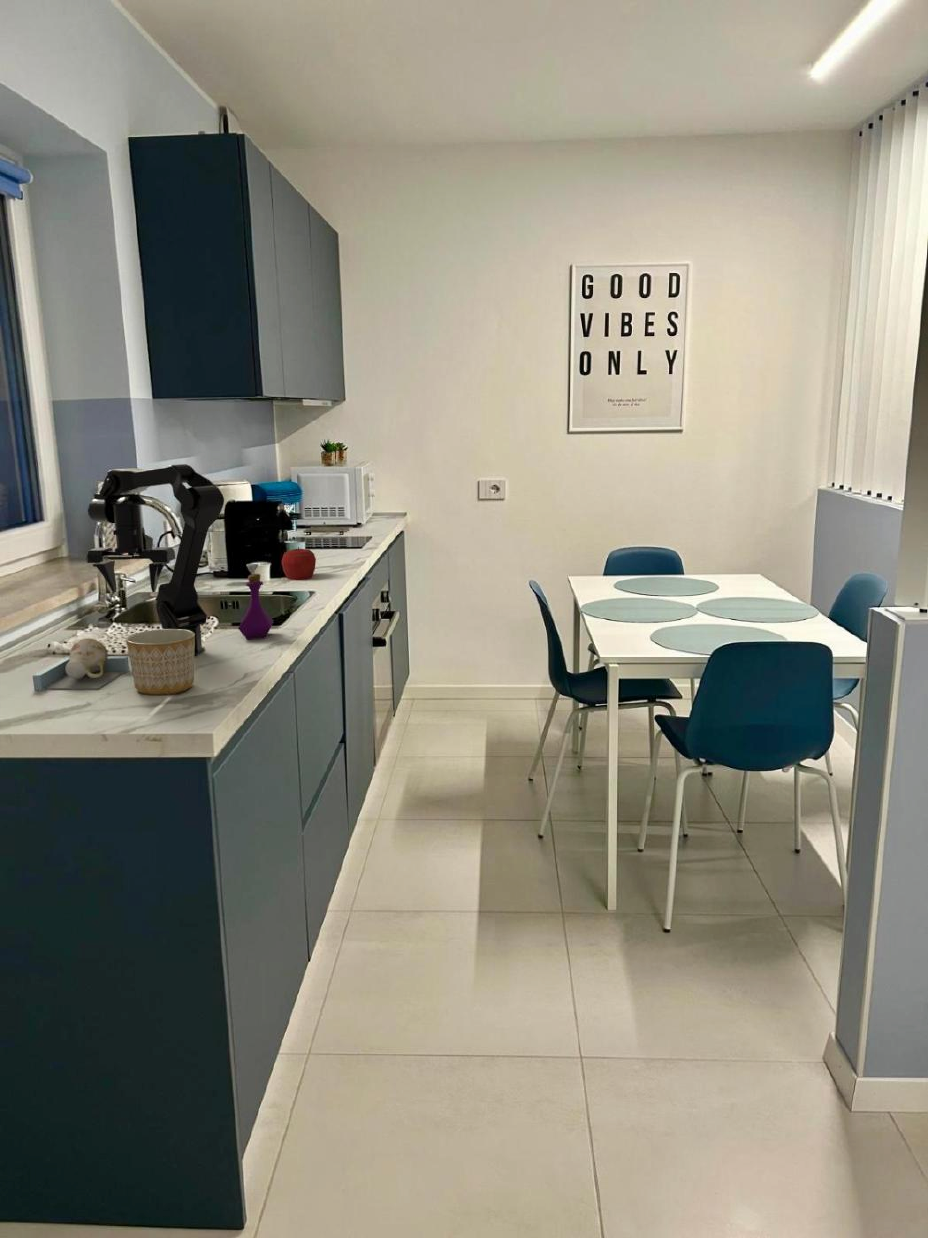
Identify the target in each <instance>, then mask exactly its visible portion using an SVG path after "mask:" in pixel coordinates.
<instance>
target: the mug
mask: <svg viewBox="0 0 928 1238" xmlns="http://www.w3.org/2000/svg"><path fill="white" fill-rule="evenodd" d="M69 657H70V658H69V659H70V661H69V662H68V663H67V665H66V668H65V670H66V673H67V674H68V676H70V677H71V678H73V679H80V678H82V677H83V676H84V675H85V674H87V675H88V676H89V677H90V678H98V677H101V676H102V675H103V673H104V671H103V666H104V665H105V663H106V661H107V658H108V657H109V656H108V651H107V648H106V646H105V645H104V644H103V643H102V642H101V641H98V640H96V639H94V638H81V639H79V640H78V641H76V642H75V643H74V644H73V645H72V647H71V649H70V652H69ZM98 670H100V673H98V674H93V673H94V672H96V671H98Z"/></svg>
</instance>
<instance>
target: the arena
mask: <svg viewBox="0 0 928 1238" xmlns="http://www.w3.org/2000/svg"><path fill="white" fill-rule="evenodd" d="M69 658H70V656H65V657H63V658H62V659H60V660H58V661H56V662H53V664H51V665H49V666H47V667H45V668H43V669H41V670H40V671H38V672H36V673H35V674H33V675H32V683H33V690H34V691H43V690H46V687H48V686H50V685H52V684H53V683H55V682H57V681H58V680H60V679H62V678H63V677H65V676H67V675H68V674H67V673H66V670H65V668H66V665H67V663H68V662H69V661H70V659H69ZM98 671H100V670H98ZM103 671H124V673H127V672H129V671H130V667H129V657H128V656H108V658H107V661H106V663H105V665H104V666H103Z"/></svg>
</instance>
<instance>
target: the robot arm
mask: <svg viewBox="0 0 928 1238" xmlns="http://www.w3.org/2000/svg"><path fill="white" fill-rule="evenodd" d="M185 483H186V484H187V485H188V486H189V487H186V485H184V484H185ZM163 485H165V486H166V485H171V488H172V492H173V497H175V499H176V500H177V501H178V502H179V503H180V511H179V512H180V514H181V517H182V519H183V521H184V526H183V530H182V532H181V538H180V542H179V545H178V546H179V547H178V549H177V555H176V551H175V549H174V548H173V547H172V546H170V547H169V546H168V547H167V546H161V547H160V546H157V547H155V548H153V547H154V546H153V543H154V538H153V537H151V536H150V535H147V534H146V531H145V527H143V526H142V525H143V523H142V515H141V505H142V506H143V505H146V503H147V502H146V500H145V499H143V498H142V497H141V496H140V494H139V493H142V492H144V491H146V490H147V489H148V488H150V487H151V488H152V487H156V486H158V487H159V486H163ZM93 497H94V498H93V499H92V500H91V501H90V502H89V505H88V507H87V513H88V517H89V518H90V519H91V520H92V521H93V522H96V523H102V524H114V530H112V531H113V532H112V533H113V536H115V541H116V547H115V548H114V550H113V548H112V547H95V548H92V549H88V551H86V555H85V559H86V564H92V567H95V568H97V570H98V571H99V572H100V574H101V575H102V577H103V578H104V580H105V581H106V583H107V585H108V587H109V588H110V590H111V591H112V593H117V581H116V575H115V564H116V563H115V562H116V560H133V559H134V560H150V561H151V563H149V564H148V568H149V569H148V570H149V579H150V590H151V592H152V593H155V592H157V596H156V597H155V601H156V607H155V608H156V609H155V610H156V612H157V617H158V619H159V622H160V625H161V629H183V630H189V631H192V632H194V634H195V649H194V657H196V656H199V655H200V653H202V652H203V651H204V650H205V649H206V648H205V646H203V644H202V628H201V625H205V624H206V623H207V620H208V619H207V618H208V614H207V613H206V612H205V610H203V608H202V607H201V605H200V603H198V600H199V595H198V592H197V590H196V587H195V583H196V578H197V574H198V570H199V567H200V563H201V559H202V556H203V555H202V554H203V551H204V547H205V543H206V538H207V535H208V531H209V529H210V527H211V526H212V525H213V524H214V523H215V522H216V520H217V519H218V518H219V516H220V514H221V511H222V510H223V508H224V505H225V504H224V503H225V498H224V495H223V494H222V491H221V490H220V489H219V487H217V486H216V485H215V484H214V483H213V482H212V480H210V479H209V478H206V477H205V476H203V475H202V474H200V473H198V472H196V470H195V469H194V468H193V467H192V466H191V465H188V464H185V463H184V464H183V463H181V464H170V465H168V466H163V467H157V468H150V469H143V468H137V467H136V468H135V467H132V468H115V469H113V468H112V469H110V470H108V471H107V475H106V476H105V478H104V481H103V484H102V486H101V489H100V490H99V492H97V493H96V492H95V493H93ZM173 560H175V561H174V566H173V570H172V574H171V575H172V576H171V579H170V581H169V582H166V583H161V584H160V585H159V586H158V584H159V579H160V577H161V574H162V571H163V568H164V567H165V566H166V565H168V564H170V562H171V561H173ZM157 587H158V589H157ZM157 590H158V591H157ZM205 651H206V650H205Z"/></svg>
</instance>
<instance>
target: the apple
mask: <svg viewBox="0 0 928 1238" xmlns="http://www.w3.org/2000/svg"><path fill="white" fill-rule="evenodd" d="M316 561H317V559H316V555H315V553H314V552H313V551H312V550H310V549H307V548H300V547H299V546H298V547H297V548H293V549H290V550H287V551H285V552H284V554H283V555H282V558H281V567H282V571H283V573H284V575H285V576H286V579H288V580H289V581H305V580H309V579H312V577H313V575H314V573H315V570H316Z"/></svg>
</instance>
